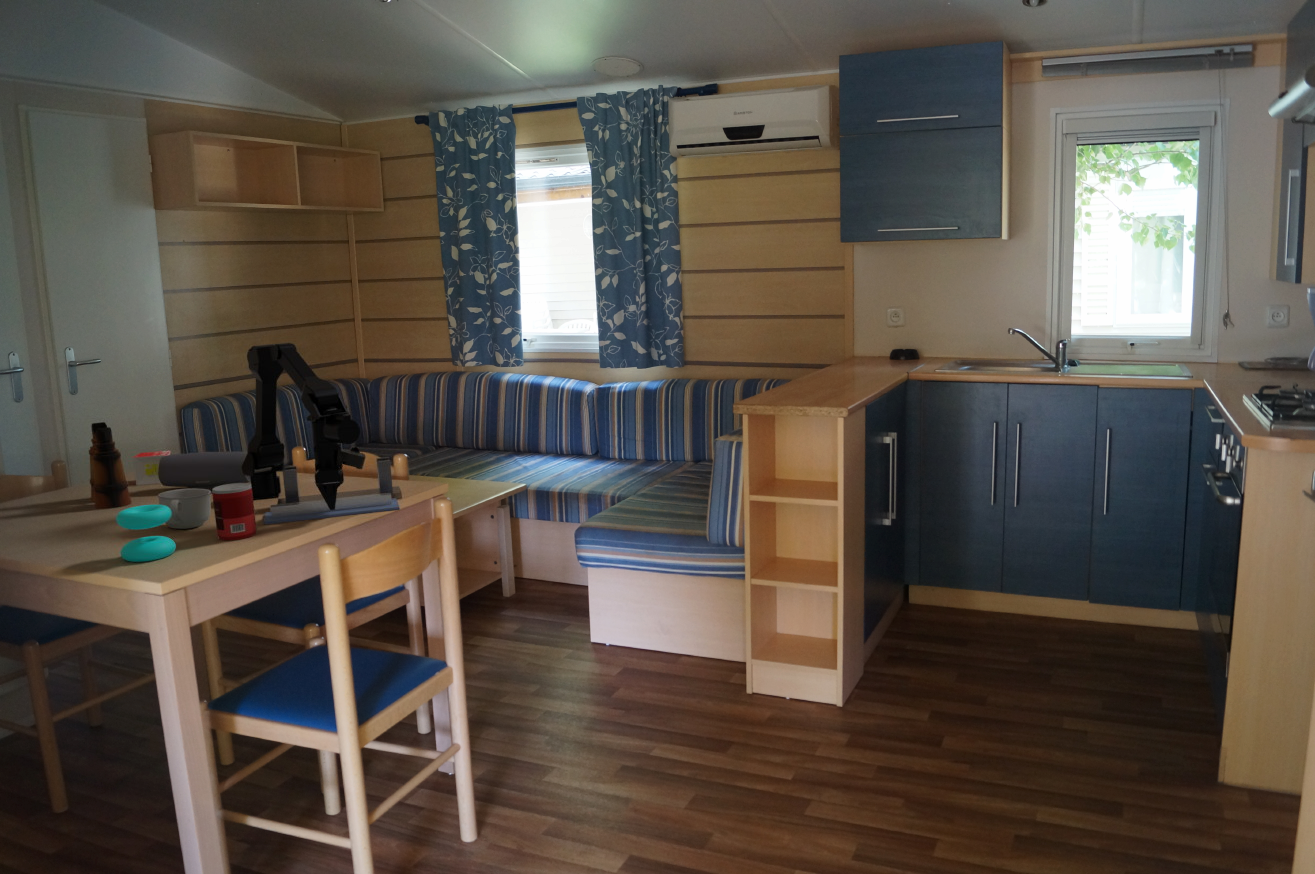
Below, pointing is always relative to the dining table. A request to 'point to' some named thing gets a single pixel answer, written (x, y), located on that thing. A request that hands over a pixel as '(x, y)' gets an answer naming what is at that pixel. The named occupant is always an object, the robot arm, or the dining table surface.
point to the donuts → (149, 545)
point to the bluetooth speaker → (202, 469)
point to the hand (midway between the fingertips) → (332, 505)
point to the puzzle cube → (148, 467)
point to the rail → (323, 507)
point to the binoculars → (106, 470)
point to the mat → (330, 513)
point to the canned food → (234, 511)
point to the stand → (384, 487)
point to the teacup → (187, 507)
